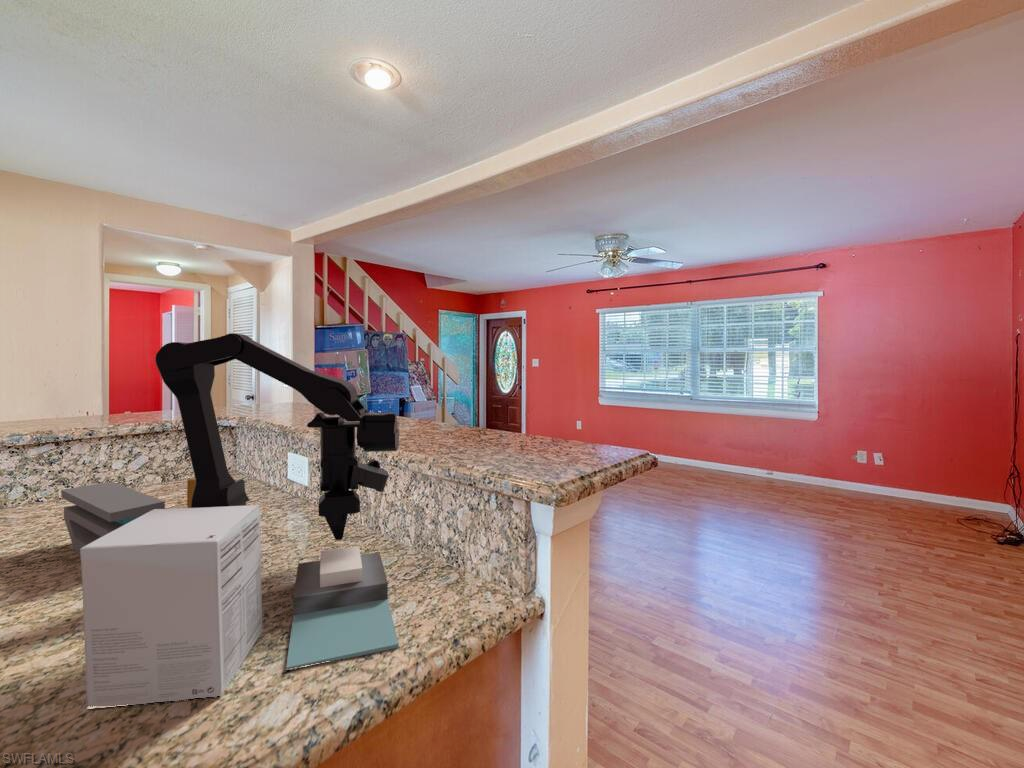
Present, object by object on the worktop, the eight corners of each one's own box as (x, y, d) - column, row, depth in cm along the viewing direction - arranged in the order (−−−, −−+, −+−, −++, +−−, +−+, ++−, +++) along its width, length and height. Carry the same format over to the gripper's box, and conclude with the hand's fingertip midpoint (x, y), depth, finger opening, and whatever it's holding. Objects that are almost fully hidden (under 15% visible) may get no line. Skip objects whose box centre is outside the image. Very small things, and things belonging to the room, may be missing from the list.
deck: (293, 618, 66) (293, 598, 66) (298, 581, 77) (298, 563, 77) (387, 602, 71) (387, 582, 71) (379, 568, 82) (379, 552, 82)
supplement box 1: (265, 629, 64) (262, 503, 63) (221, 699, 51) (217, 540, 50) (157, 638, 61) (153, 507, 61) (82, 713, 48) (75, 548, 48)
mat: (286, 671, 55) (286, 667, 55) (293, 618, 66) (293, 615, 66) (398, 647, 60) (398, 643, 60) (387, 602, 71) (387, 598, 71)
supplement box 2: (199, 524, 103) (198, 479, 103) (186, 523, 104) (185, 478, 104) (212, 519, 107) (211, 476, 106) (199, 518, 107) (198, 475, 107)
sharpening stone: (166, 560, 85) (164, 501, 85) (112, 576, 79) (110, 513, 78) (113, 532, 99) (111, 481, 98) (63, 544, 92) (61, 489, 91)
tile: (320, 587, 69) (319, 574, 69) (321, 562, 78) (320, 551, 77) (362, 580, 71) (362, 568, 71) (359, 557, 80) (358, 545, 80)
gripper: (391, 459, 76) (392, 553, 77) (380, 440, 94) (380, 517, 94) (317, 464, 72) (319, 563, 73) (320, 444, 89) (321, 524, 90)
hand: (339, 539), depth 83 cm, fingers closed
